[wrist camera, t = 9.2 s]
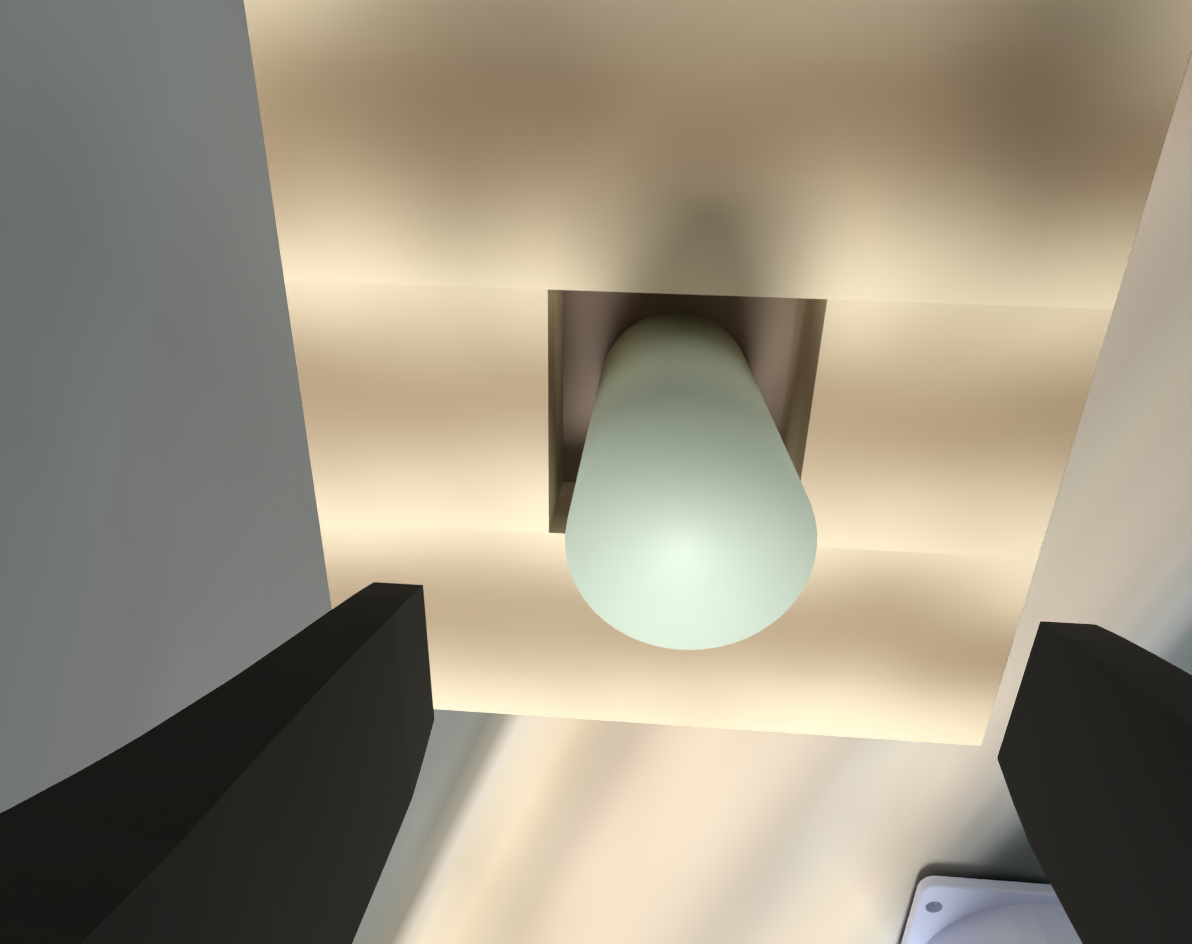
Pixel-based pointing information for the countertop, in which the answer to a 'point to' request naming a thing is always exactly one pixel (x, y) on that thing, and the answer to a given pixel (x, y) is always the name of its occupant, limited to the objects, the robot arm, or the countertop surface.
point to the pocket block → (709, 312)
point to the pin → (686, 493)
